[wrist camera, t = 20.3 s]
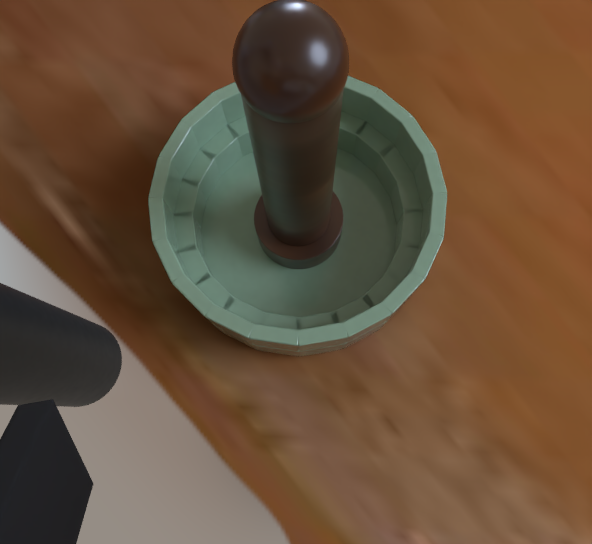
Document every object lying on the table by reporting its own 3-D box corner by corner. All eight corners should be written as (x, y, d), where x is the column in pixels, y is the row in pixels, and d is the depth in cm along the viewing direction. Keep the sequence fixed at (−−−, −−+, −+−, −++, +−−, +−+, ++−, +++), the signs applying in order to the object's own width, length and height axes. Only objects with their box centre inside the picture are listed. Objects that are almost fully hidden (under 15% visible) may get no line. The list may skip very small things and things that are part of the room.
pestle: (263, 275, 31) (211, 113, 14) (251, 197, 33) (190, -36, 16) (348, 261, 31) (395, 84, 14) (332, 183, 33) (358, -62, 16)
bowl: (189, 376, 30) (164, 368, 25) (163, 141, 34) (136, 91, 29) (450, 332, 31) (480, 314, 25) (393, 103, 35) (409, 48, 30)
